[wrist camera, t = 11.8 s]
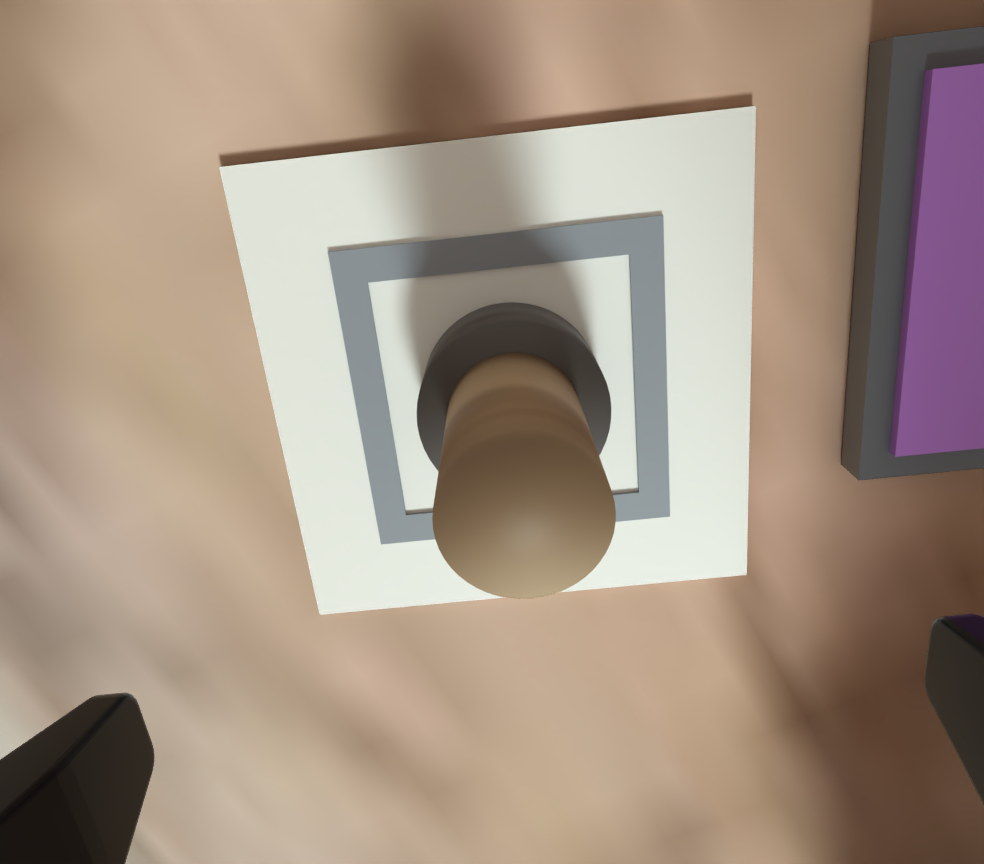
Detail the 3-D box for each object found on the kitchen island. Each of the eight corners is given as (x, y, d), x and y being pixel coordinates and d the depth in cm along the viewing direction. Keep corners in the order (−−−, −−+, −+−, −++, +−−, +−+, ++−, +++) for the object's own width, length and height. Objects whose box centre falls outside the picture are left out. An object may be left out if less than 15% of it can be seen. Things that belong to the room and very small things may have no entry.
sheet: (744, 571, 21) (748, 576, 21) (321, 610, 21) (319, 616, 21) (753, 105, 17) (757, 105, 16) (222, 166, 17) (217, 166, 17)
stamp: (603, 461, 19) (661, 621, 13) (435, 477, 20) (410, 644, 13) (593, 293, 18) (655, 378, 11) (411, 312, 18) (368, 407, 12)
